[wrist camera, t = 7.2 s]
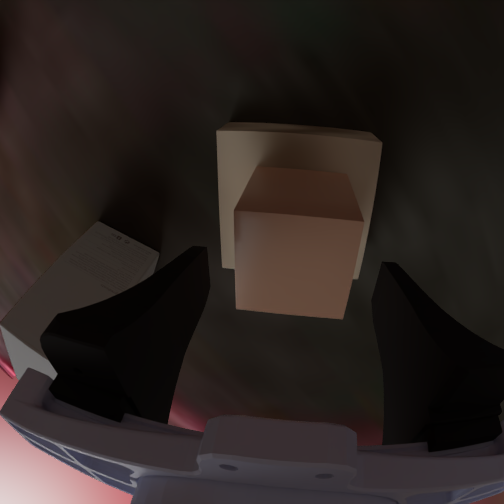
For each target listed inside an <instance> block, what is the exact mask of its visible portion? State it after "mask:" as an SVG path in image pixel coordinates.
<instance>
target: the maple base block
mask: <svg viewBox="0 0 504 504" xmlns="http://www.w3.org/2000/svg"><path fill="white" fill-rule="evenodd" d="M381 151H382V142H381V141H380V140H379V139H378V138H377V137H376V136H374V135H373V134H372V133H371V132H364V131H357V130H348V129H340V128H330V127H319V126H307V125H293V124H276V123H247V122H228V123H227V124H226V125H224V126H223V127H221V128H220V129H218V130H217V161H218V188H219V212H220V234H221V253H222V268H231V269H235V249H234V209H235V207H236V205H237V203H238V201H239V199H240V197H241V195H242V193H243V191H244V189H245V187H246V185H247V183H248V181H249V179H250V178H251V176H252V174H253V172H254V170H255V168H256V166H261V167H277V168H291V169H303V170H315V171H325V172H335V173H344V174H347V175H348V178H349V181H350V183H351V186H352V189H353V191H354V194H355V197H356V199H357V202H358V205H359V208H360V211H361V214H362V216H363V219H364V227H363V232H362V237H361V242H360V247H359V252H358V257H357V261H356V266H355V270H354V275H353V279H358V277H359V272H360V268H361V264H362V259H363V255H364V250H365V245H366V240H367V235H368V230H369V225H370V220H371V215H372V209H373V203H374V198H375V192H376V185H377V179H378V172H379V166H380V158H381Z"/></svg>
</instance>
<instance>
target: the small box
mask: <svg viewBox="0 0 504 504" xmlns="http://www.w3.org/2000/svg"><path fill="white" fill-rule="evenodd" d="M158 258H159V252H157V251H155V250H153V249H151V248H150V247H148V246H146V245H144V244H142V243H140V242H138V241H136V240H134V239H132V238H130V237H128V236H126V235H124V234H122V233H120V232H119V231H117V230H115V229H113V228H111V227H109V226H107V225H105V224H103V223H101V222H99V221H97V222H96V223H95V224H94V225H92V226H91V227H90V228H89V229H88V230H87V231H86V232H85V233H84V234H83V235H82V236H81V237H80V238H79V239H78V240H77V241H76V242H74V243H73V244H72V245H71V246H70V247H69V248H68V249H67V250H66V251H65V252H64V253H63V254H62V255H61V256H60V257H59V258H58V259H57V260H56V261H55V262H54V263H53V264H52V265H51V266H50V267H49V268H48V269H47V270H46V271H45V272H44V274H43V275H42V276H41V277H40V278H39V279H38V280H37V281H36V282H35V283H34V284H33V285H32V286H31V287H30V289H29V290H28V291H27V292H26V293H25V294H24V295H23V296H22V298H21V299H20V300H19V301H18V302H17V303H16V304H15V305H14V307H13V308H12V309H11V310H10V311H9V312H8V314H7V315H6V316H5V317H4V318H3V319H2V321H1V322H0V328H1V331H2V335H3V338H4V341H5V344H6V348H7V351H8V354H9V357H10V360H11V363H12V366H13V368H14V371H15V374H16V377H17V379H18V380H20V378H21V377H22V375H23V374H24V372H25V371H26V369H27V368H32V369H34V370H37V371H39V372H41V373H44V374H46V375H48V376H49V377H51V378H52V379H53V380H54V379H55V378H56V376H57V373H56V371H55V370H54V368H53V366H52V365H51V363H50V362H49V360H48V359H47V357H46V355H45V354H44V352H43V350H42V348H41V343H40V336H41V335H42V333H43V332H44V331H45V329H46V328H47V327H48V325H49V324H50V323H51V321H52V320H53V319H54V317H55V316H56V315H57V314H58V313H62V312H67V311H71V310H75V309H79V308H82V307H86V306H89V305H92V304H95V303H97V302H100V301H103V300H105V299H108V298H110V297H112V296H115V295H117V294H119V293H121V292H123V291H125V290H127V289H129V288H131V287H133V286H135V285H137V284H138V283H140V282H142V281H144V280H145V279H147V278H148V277H150V276H151V275H153V273H154V270H155V267H156V264H157V261H158Z"/></svg>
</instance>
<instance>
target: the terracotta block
mask: <svg viewBox="0 0 504 504" xmlns="http://www.w3.org/2000/svg"><path fill="white" fill-rule="evenodd" d="M363 227H364V219H363V216H362V214H361V211H360V208H359V205H358V202H357V199H356V197H355V194H354V191H353V189H352V186H351V183H350V181H349V178H348V175H347V174H344V173H335V172H325V171H315V170H303V169H291V168H277V167H261V166H256V168H255V170H254V172H253V174H252V176H251V178H250V179H249V181H248V183H247V185H246V187H245V189H244V191H243V193H242V195H241V197H240V199H239V201H238V203H237V205H236V207H235V209H234V249H235V287H236V309H242V310H251V311H260V312H269V313H279V314H289V315H299V316H310V317H322V318H335V319H343V316H344V312H345V308H346V304H347V300H348V296H349V292H350V288H351V284H352V279H353V275H354V270H355V266H356V261H357V257H358V252H359V247H360V242H361V237H362V232H363Z"/></svg>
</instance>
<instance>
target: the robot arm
mask: <svg viewBox="0 0 504 504" xmlns="http://www.w3.org/2000/svg"><path fill="white" fill-rule="evenodd" d="M209 290H210V277H209V266H208V254H207V247H200V246H192V247H191V248H189V249H188V250H186V251H185V252H184V253H182V254H181V255H179V256H178V257H177V258H175V259H174V260H173V261H171V262H170V263H169V264H167V265H166V266H165V267H163V268H162V269H160V270H159V271H157V272H156V273H154V274H153V275H151V276H150V277H148V278H147V279H145V280H144V281H142V282H140V283H138V284H137V285H135V286H133V287H131V288H129V289H127V290H125V291H123V292H121V293H119V294H117V295H115V296H112V297H110V298H108V299H105V300H103V301H100V302H97V303H95V304H92V305H89V306H86V307H82V308H79V309H75V310H71V311H67V312H62V313H58V314H57V315H56V316H55V317H54V319H53V320H52V321H51V323H50V324H49V325H48V327H47V328H46V329H45V331H44V332H43V333H42V335H41V336H40V343H41V348H42V350H43V352H44V354H45V355H46V357H47V359H48V360H49V362H50V363H51V365H52V366H53V368H54V370H55V371H56V373H57V376H56V378H55V379H54V380H53V379H52V378H51V377H49V376H48V375H46V374H44V373H41V372H39V371H37V370H34V369H32V368H27V369H26V371H25V372H24V374H23V375H22V377H21V378H20V380H19V382H18V383H17V385H16V386H15V388H14V389H13V391H12V392H11V394H10V396H9V397H8V399H7V401H6V402H5V404H4V405H3V407H2V409H1V410H0V415H1V416H2V417H3V419H5V421H7V422H8V423H9V424H10V425H11V426H12V427H13V428H14V429H15V430H16V431H17V432H18V433H19V434H20V435H21V436H22V437H23V438H24V439H26V440H27V441H28V442H29V443H30V444H31V445H33V446H35V447H36V448H38V449H40V450H41V451H43V452H45V453H47V454H48V455H50V456H52V457H54V458H56V459H57V460H59V461H61V462H63V463H65V464H67V465H69V466H70V467H72V468H74V469H76V470H78V471H80V472H82V473H84V474H86V475H88V476H90V477H92V478H94V479H96V480H99V481H101V482H103V483H105V484H107V485H109V486H112V487H114V488H116V489H119V490H121V491H124V492H126V493H128V494H131V495H133V498H132V501H131V504H469V503H472V502H475V501H478V500H481V499H484V498H487V497H490V496H493V495H496V494H498V493H501V492H503V491H504V420H503V421H501V422H500V421H499V417H498V415H500V414H501V412H502V410H501V406H500V403H501V402H502V401H503V400H504V349H502V348H500V347H497V346H495V345H493V344H491V343H490V342H488V341H486V340H484V339H482V338H481V337H479V336H477V335H476V334H474V333H473V332H471V331H470V330H468V329H467V328H465V327H464V326H463V325H461V324H460V323H458V322H457V321H456V320H455V319H453V318H452V317H451V316H450V315H448V314H447V313H446V312H445V311H444V310H442V309H441V308H440V307H439V306H438V305H437V304H436V303H435V302H434V301H433V300H432V299H431V298H430V297H429V296H428V295H427V294H426V293H425V292H424V291H423V290H422V289H421V288H420V287H419V286H418V285H417V284H416V283H415V282H414V281H413V280H412V279H411V278H410V277H409V275H408V274H407V273H406V272H405V271H404V270H403V269H402V268H401V267H400V266H399V265H398V264H397V263H394V262H382V264H381V268H380V271H379V275H378V279H377V282H376V286H375V290H374V293H373V296H372V300H371V302H372V314H373V323H374V328H375V333H376V337H377V342H378V347H379V352H380V357H381V362H382V369H383V382H384V429H383V442H382V445H377V446H357V433H356V432H354V431H353V430H351V429H349V428H348V427H346V426H344V425H339V424H332V423H321V422H303V421H289V420H278V419H268V418H259V417H251V416H243V415H221V416H218V417H215V418H212V419H209V420H208V422H207V424H206V427H205V430H204V432H199V431H194V430H189V429H185V428H180V427H176V426H172V425H167V424H168V419H169V413H170V409H171V404H172V400H173V395H174V391H175V387H176V383H177V380H178V376H179V372H180V369H181V365H182V362H183V358H184V355H185V352H186V349H187V347H188V344H189V342H190V340H191V337H192V335H193V333H194V331H195V328H196V326H197V324H198V321H199V319H200V317H201V314H202V312H203V310H204V307H205V304H206V301H207V297H208V294H209Z"/></svg>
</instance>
